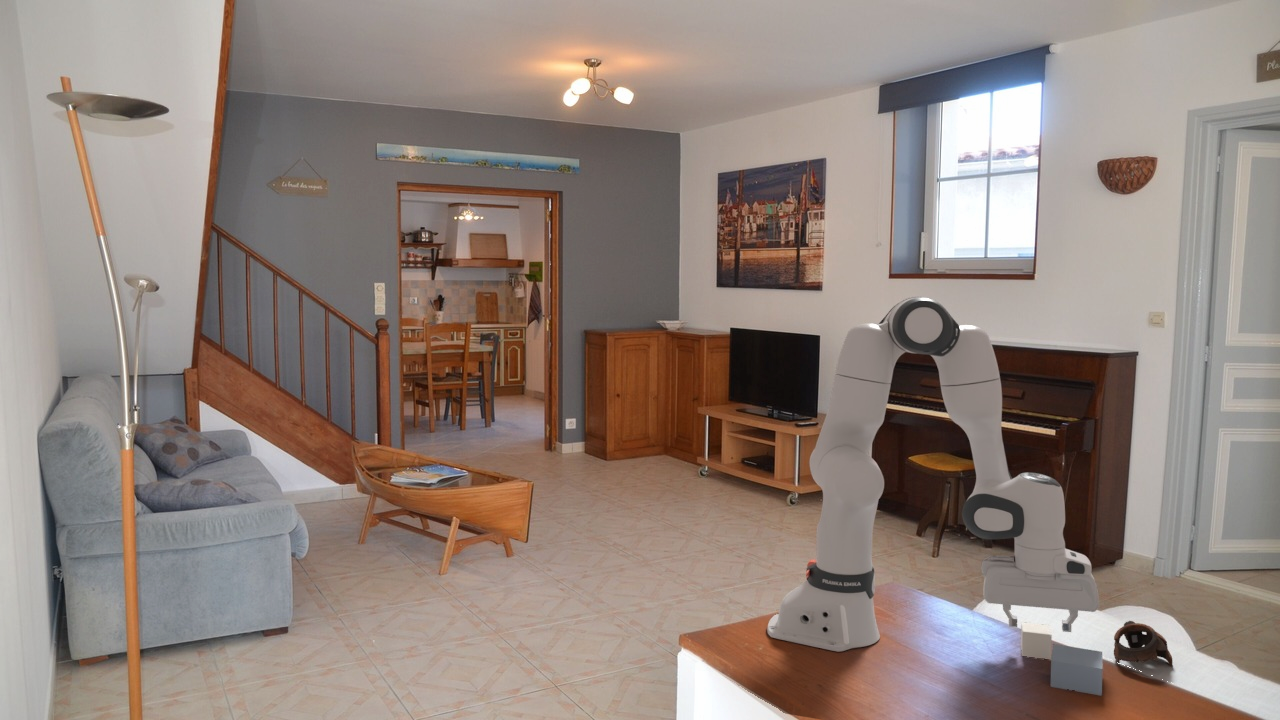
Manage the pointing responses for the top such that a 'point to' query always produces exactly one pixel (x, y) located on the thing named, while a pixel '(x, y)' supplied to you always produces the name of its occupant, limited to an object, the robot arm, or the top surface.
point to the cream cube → (1036, 640)
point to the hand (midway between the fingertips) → (1039, 628)
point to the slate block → (1076, 669)
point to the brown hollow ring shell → (1140, 644)
